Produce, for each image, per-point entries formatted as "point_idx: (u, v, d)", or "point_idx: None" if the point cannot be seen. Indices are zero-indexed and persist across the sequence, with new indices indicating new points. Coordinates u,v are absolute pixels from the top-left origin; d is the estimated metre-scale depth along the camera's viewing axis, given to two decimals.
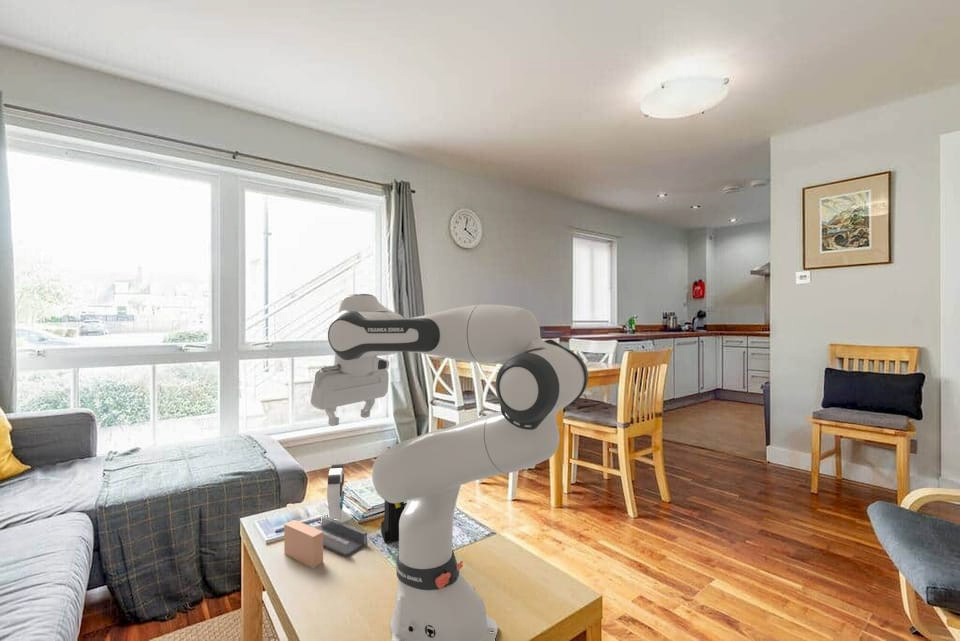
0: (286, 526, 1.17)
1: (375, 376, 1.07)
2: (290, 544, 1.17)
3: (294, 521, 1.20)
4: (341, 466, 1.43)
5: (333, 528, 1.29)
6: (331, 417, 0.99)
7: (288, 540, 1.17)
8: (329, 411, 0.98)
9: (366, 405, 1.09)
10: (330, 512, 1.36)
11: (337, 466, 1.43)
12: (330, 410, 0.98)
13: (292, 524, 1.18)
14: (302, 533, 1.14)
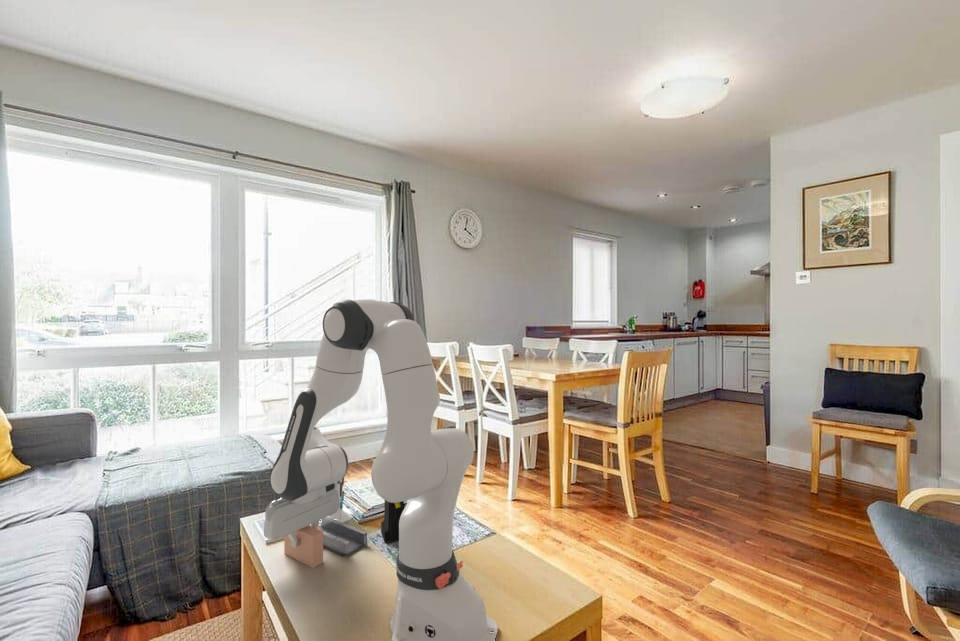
0: None
1: (325, 497, 1.19)
2: (290, 543, 1.17)
3: None
4: None
5: (333, 528, 1.29)
6: (293, 540, 1.13)
7: (288, 540, 1.17)
8: (290, 535, 1.12)
9: None
10: None
11: None
12: (291, 534, 1.12)
13: None
14: (302, 533, 1.14)
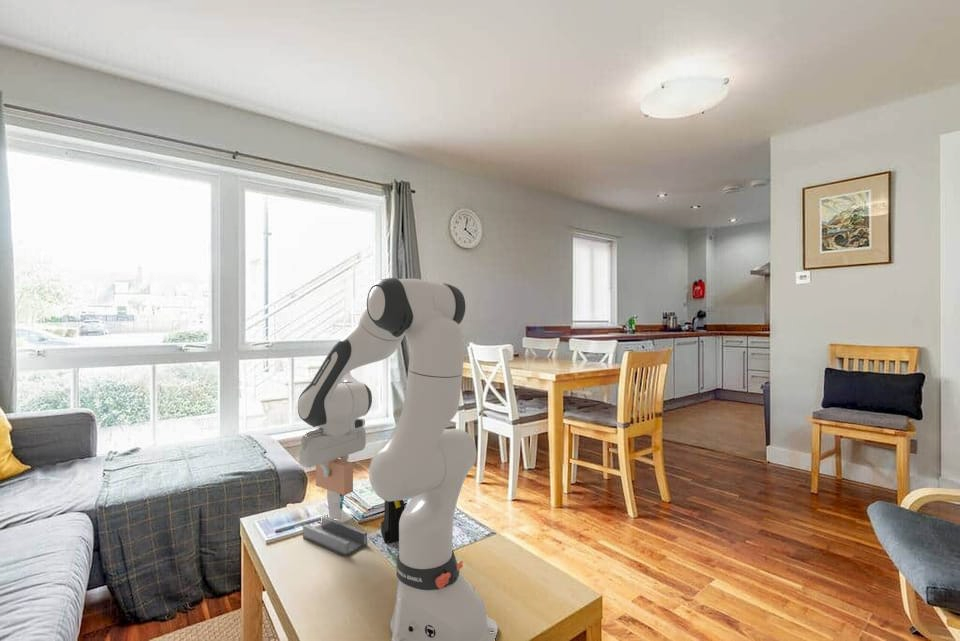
0: None
1: (353, 433, 1.27)
2: (322, 475, 1.25)
3: None
4: None
5: (333, 528, 1.29)
6: (325, 470, 1.21)
7: (319, 472, 1.25)
8: (323, 465, 1.20)
9: None
10: (330, 512, 1.36)
11: None
12: (324, 464, 1.20)
13: None
14: (334, 464, 1.22)
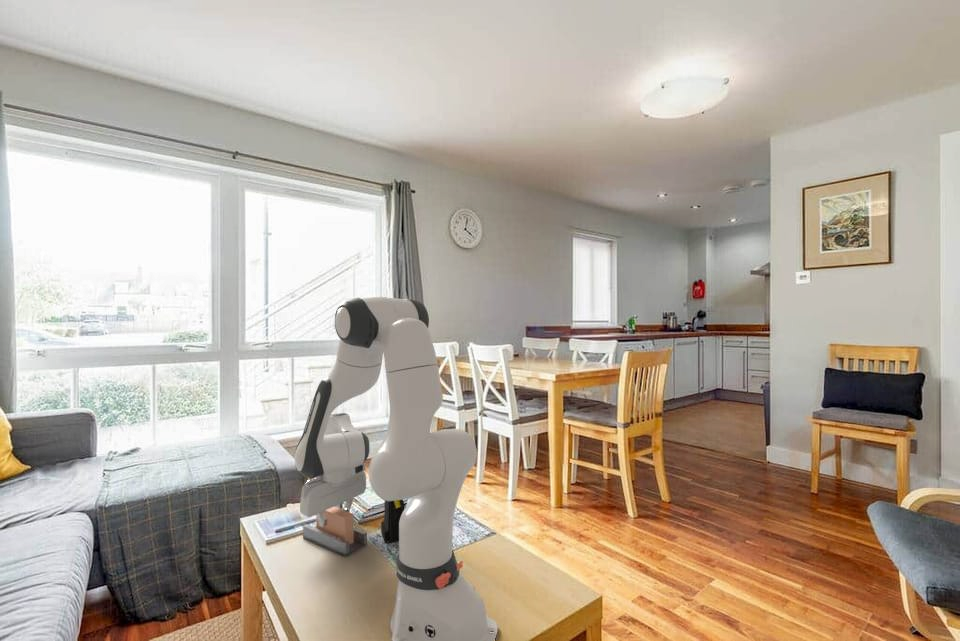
0: None
1: (354, 478, 1.28)
2: None
3: None
4: None
5: None
6: (320, 519, 1.20)
7: None
8: (318, 515, 1.19)
9: (346, 504, 1.28)
10: None
11: None
12: (319, 514, 1.19)
13: None
14: (334, 515, 1.22)
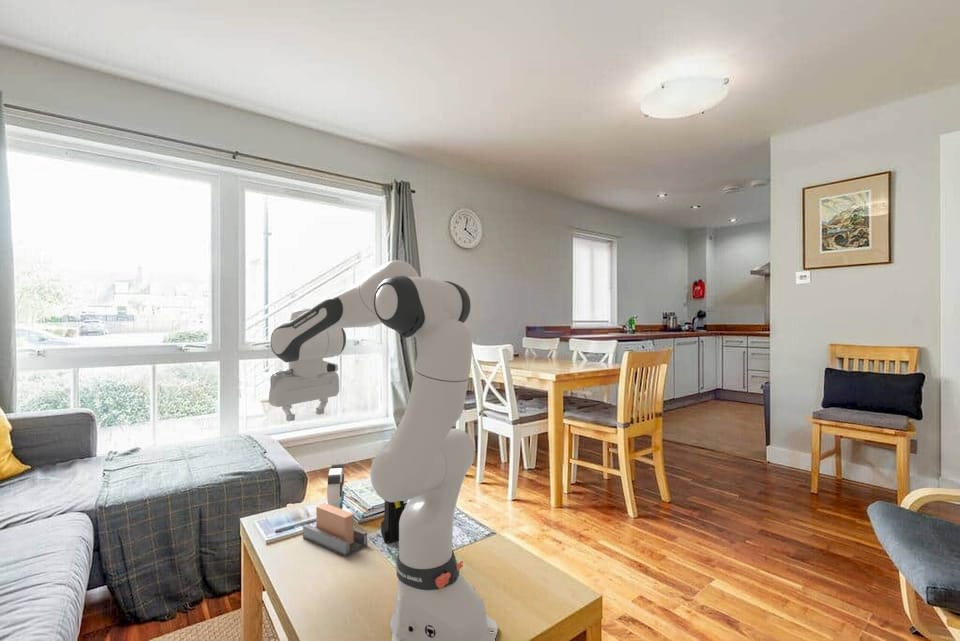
0: (318, 509, 1.26)
1: (326, 378, 1.26)
2: (322, 525, 1.25)
3: (325, 504, 1.28)
4: (341, 466, 1.43)
5: None
6: (288, 414, 1.18)
7: (320, 522, 1.25)
8: (285, 408, 1.17)
9: (321, 404, 1.28)
10: None
11: (337, 466, 1.43)
12: (286, 407, 1.17)
13: (324, 506, 1.26)
14: (334, 515, 1.22)
